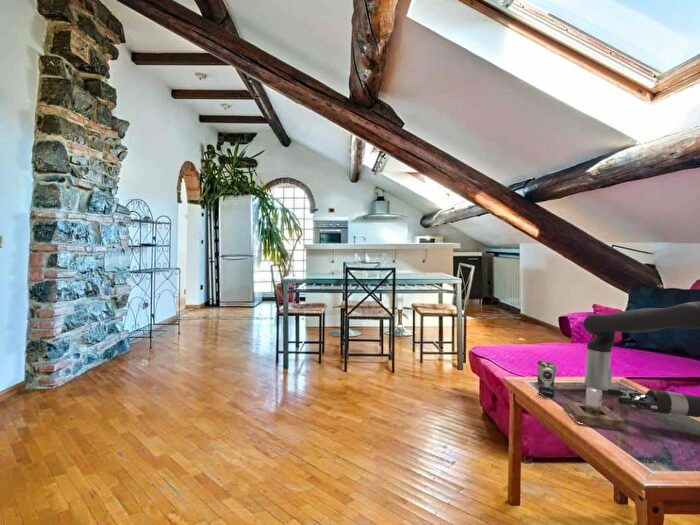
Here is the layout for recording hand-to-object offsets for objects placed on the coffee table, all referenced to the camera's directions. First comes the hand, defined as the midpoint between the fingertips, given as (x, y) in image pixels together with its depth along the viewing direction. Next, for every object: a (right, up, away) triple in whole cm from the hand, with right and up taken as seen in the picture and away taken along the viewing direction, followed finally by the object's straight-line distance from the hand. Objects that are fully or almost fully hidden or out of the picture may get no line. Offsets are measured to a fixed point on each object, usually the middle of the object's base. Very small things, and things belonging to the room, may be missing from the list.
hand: (612, 395), depth 132 cm
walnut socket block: (-7, -9, +1) cm, 11 cm away
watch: (-10, -9, +25) cm, 28 cm away
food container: (-3, -9, +37) cm, 38 cm away
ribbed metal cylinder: (-6, -8, +1) cm, 10 cm away
